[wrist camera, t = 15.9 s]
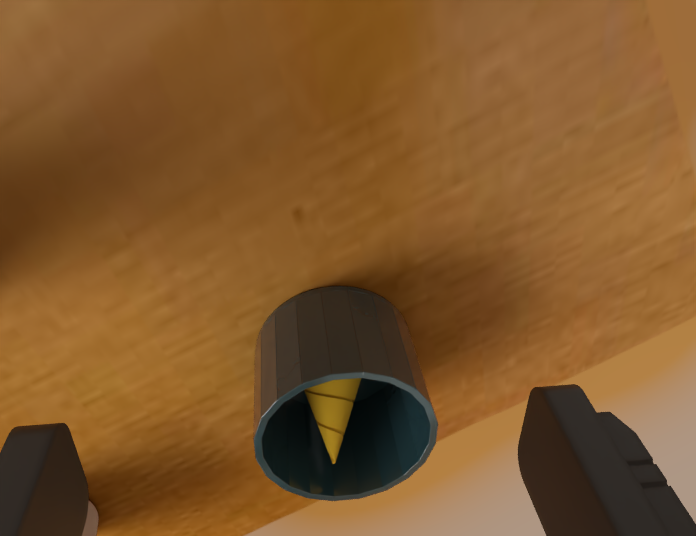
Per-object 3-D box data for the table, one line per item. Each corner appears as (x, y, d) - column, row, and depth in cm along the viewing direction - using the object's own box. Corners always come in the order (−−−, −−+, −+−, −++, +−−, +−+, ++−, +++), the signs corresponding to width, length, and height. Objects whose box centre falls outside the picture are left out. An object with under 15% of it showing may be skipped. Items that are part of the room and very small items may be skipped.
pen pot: (261, 410, 49) (261, 508, 42) (249, 290, 43) (246, 380, 35) (405, 399, 50) (430, 492, 43) (414, 280, 44) (445, 365, 37)
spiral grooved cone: (378, 318, 45) (385, 460, 44) (316, 324, 48) (320, 458, 46) (343, 312, 41) (349, 471, 39) (276, 319, 43) (279, 468, 41)
